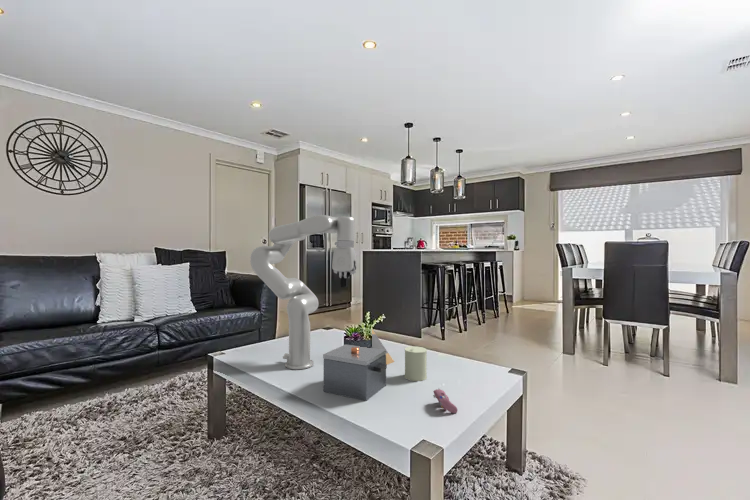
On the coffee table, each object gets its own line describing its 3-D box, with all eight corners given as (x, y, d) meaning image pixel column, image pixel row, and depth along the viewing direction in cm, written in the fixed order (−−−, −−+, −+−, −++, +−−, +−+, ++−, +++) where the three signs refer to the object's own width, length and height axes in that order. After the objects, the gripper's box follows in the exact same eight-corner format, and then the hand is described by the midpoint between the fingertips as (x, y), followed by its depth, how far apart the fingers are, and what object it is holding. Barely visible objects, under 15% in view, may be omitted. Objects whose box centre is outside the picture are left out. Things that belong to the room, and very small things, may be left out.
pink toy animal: (437, 406, 125) (429, 388, 125) (449, 399, 125) (440, 382, 125) (447, 419, 115) (437, 400, 115) (459, 412, 116) (450, 393, 115)
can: (399, 377, 148) (400, 348, 148) (413, 371, 155) (413, 344, 155) (418, 383, 142) (418, 352, 142) (431, 377, 149) (431, 348, 149)
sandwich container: (384, 366, 163) (384, 333, 163) (358, 359, 172) (358, 328, 172) (395, 361, 169) (395, 330, 169) (370, 355, 179) (370, 325, 179)
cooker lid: (323, 358, 133) (323, 350, 133) (345, 348, 148) (345, 340, 148) (366, 365, 125) (366, 356, 125) (385, 354, 139) (385, 346, 139)
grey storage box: (323, 391, 133) (323, 359, 133) (346, 377, 147) (346, 348, 147) (373, 402, 124) (373, 367, 124) (392, 386, 138) (392, 355, 138)
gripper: (326, 244, 157) (325, 286, 157) (355, 245, 150) (354, 289, 150) (335, 244, 164) (334, 285, 164) (364, 245, 157) (363, 287, 157)
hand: (344, 287), depth 157 cm, fingers closed
